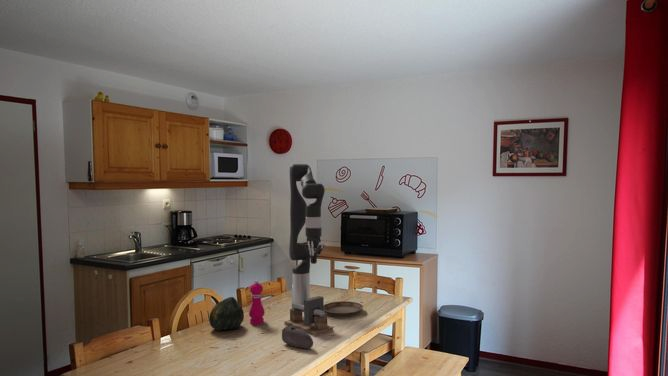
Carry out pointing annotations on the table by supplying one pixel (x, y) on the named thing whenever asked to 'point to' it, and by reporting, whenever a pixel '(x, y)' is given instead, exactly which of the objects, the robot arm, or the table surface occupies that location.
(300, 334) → the perforated stone tool
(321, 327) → the pipe stand
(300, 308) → the pipe
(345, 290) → the table surface
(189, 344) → the table surface
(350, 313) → the plant saucer
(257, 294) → the pepper mill
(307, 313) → the collar
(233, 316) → the squash
